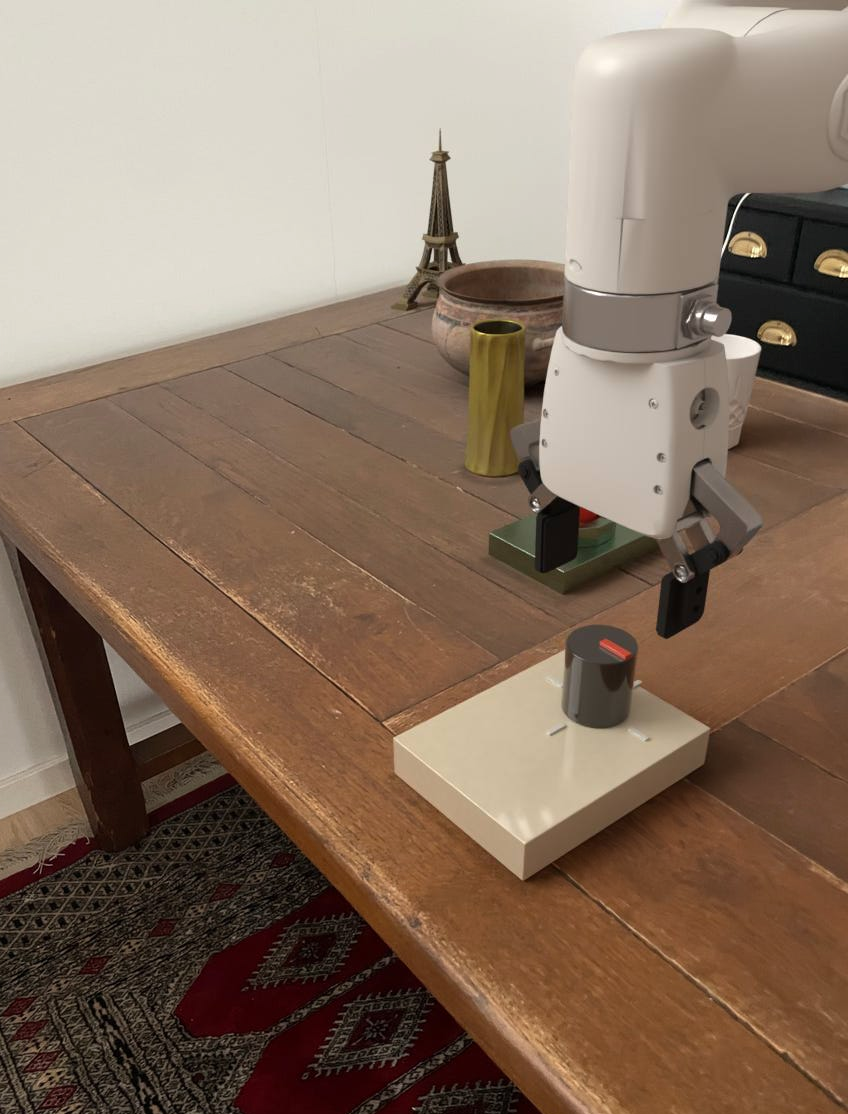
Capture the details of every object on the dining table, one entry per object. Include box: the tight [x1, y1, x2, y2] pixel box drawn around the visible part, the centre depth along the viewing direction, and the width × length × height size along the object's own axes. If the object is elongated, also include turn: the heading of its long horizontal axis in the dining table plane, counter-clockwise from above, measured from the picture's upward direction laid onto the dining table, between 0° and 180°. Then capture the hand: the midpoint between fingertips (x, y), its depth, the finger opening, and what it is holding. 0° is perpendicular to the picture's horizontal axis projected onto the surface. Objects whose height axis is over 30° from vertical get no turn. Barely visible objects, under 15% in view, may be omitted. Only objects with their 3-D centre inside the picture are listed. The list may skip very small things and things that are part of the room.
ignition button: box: [579, 506, 599, 522], centre depth 87 cm, size 4×4×2 cm
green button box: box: [488, 512, 661, 596], centre depth 88 cm, size 12×9×4 cm
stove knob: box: [561, 624, 639, 728], centre depth 65 cm, size 4×4×5 cm
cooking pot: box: [431, 258, 565, 390], centre depth 122 cm, size 25×19×12 cm
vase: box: [464, 319, 526, 478], centre depth 101 cm, size 6×6×14 cm
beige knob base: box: [392, 649, 711, 882], centre depth 65 cm, size 16×12×3 cm
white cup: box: [711, 333, 762, 450], centre depth 105 cm, size 8×8×10 cm
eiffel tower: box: [390, 129, 467, 312], centre depth 146 cm, size 11×11×25 cm
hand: (613, 595), depth 62 cm, fingers open, 9 cm apart
